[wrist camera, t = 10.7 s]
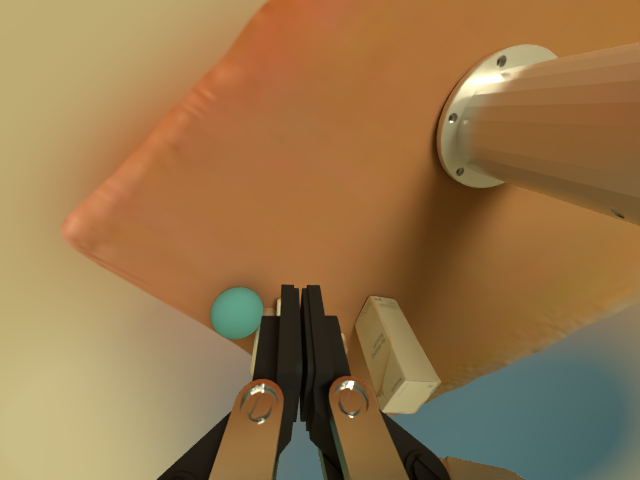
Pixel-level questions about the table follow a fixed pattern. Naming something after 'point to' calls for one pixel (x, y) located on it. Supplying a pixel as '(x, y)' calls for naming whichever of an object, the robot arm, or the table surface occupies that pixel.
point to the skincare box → (394, 357)
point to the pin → (267, 312)
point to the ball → (236, 313)
